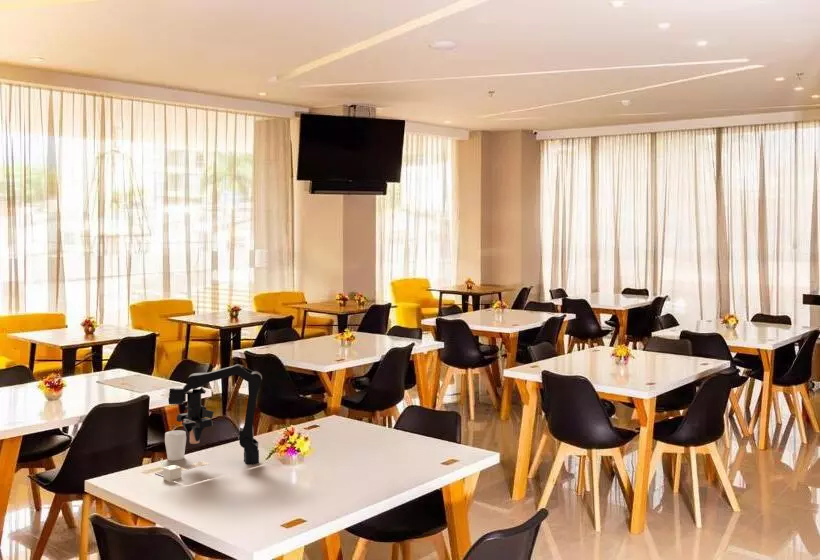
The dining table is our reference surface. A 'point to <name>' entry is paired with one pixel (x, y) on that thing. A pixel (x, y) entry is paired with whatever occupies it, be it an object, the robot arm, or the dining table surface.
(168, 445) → the cup
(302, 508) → the dining table surface
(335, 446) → the dining table surface
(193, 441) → the pawn
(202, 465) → the track
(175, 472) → the die
